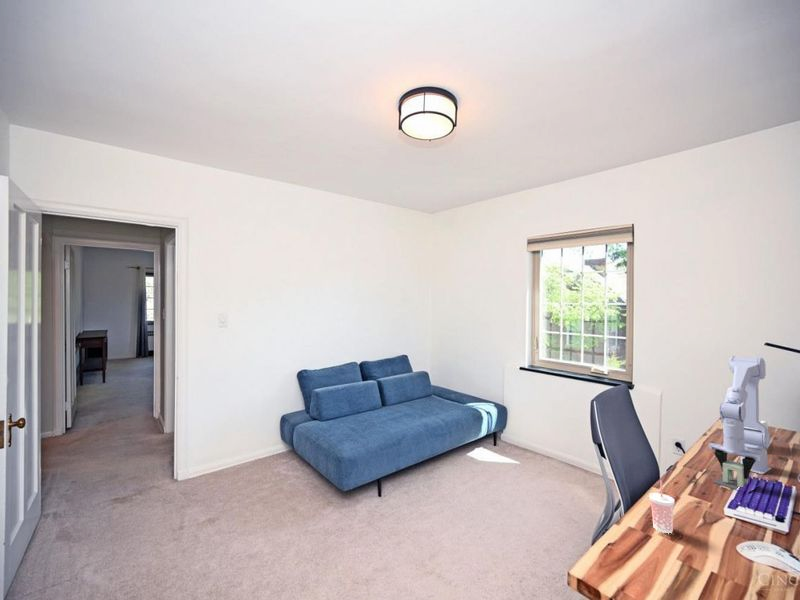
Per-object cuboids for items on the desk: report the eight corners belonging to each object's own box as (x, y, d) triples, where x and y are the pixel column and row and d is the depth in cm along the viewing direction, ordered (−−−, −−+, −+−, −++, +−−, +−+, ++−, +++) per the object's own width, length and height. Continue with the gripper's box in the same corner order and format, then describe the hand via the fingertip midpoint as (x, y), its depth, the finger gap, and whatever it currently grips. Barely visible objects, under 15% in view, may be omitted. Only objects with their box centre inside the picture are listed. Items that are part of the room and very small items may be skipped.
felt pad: (724, 476, 143) (724, 475, 143) (759, 486, 134) (759, 485, 134) (712, 482, 138) (712, 481, 138) (748, 493, 129) (748, 492, 129)
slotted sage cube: (728, 477, 140) (728, 459, 140) (748, 483, 135) (748, 465, 135) (722, 481, 137) (722, 463, 137) (742, 487, 132) (742, 468, 132)
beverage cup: (667, 537, 105) (665, 486, 106) (645, 526, 111) (643, 478, 111) (680, 532, 108) (678, 482, 108) (658, 521, 113) (657, 474, 114)
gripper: (704, 433, 141) (706, 470, 140) (756, 444, 128) (758, 485, 128) (712, 430, 144) (714, 466, 144) (763, 440, 132) (765, 480, 131)
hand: (735, 474), depth 136 cm, fingers closed on slotted sage cube, 5 cm apart
